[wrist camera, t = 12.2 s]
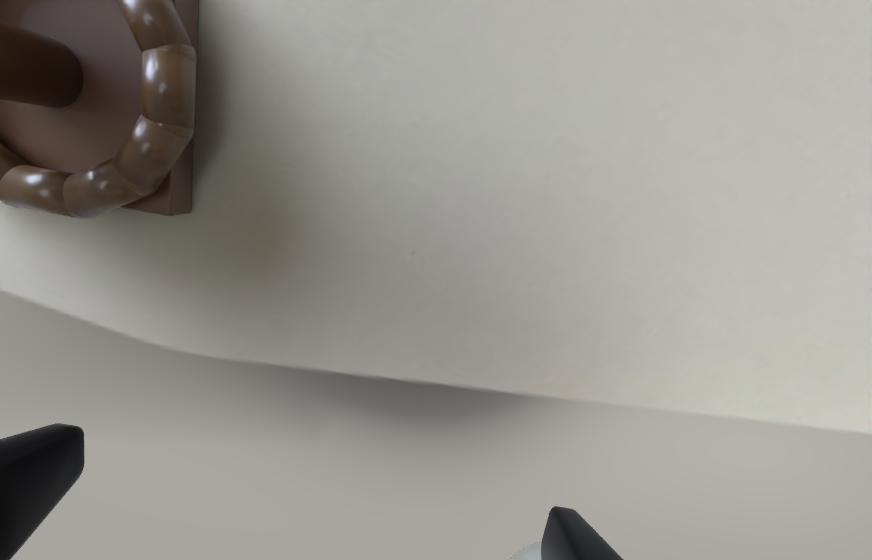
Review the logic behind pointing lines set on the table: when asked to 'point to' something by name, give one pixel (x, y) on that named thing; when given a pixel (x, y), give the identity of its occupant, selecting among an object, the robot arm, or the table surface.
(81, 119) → the post
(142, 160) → the ring
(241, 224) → the table surface
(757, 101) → the table surface
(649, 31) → the table surface
